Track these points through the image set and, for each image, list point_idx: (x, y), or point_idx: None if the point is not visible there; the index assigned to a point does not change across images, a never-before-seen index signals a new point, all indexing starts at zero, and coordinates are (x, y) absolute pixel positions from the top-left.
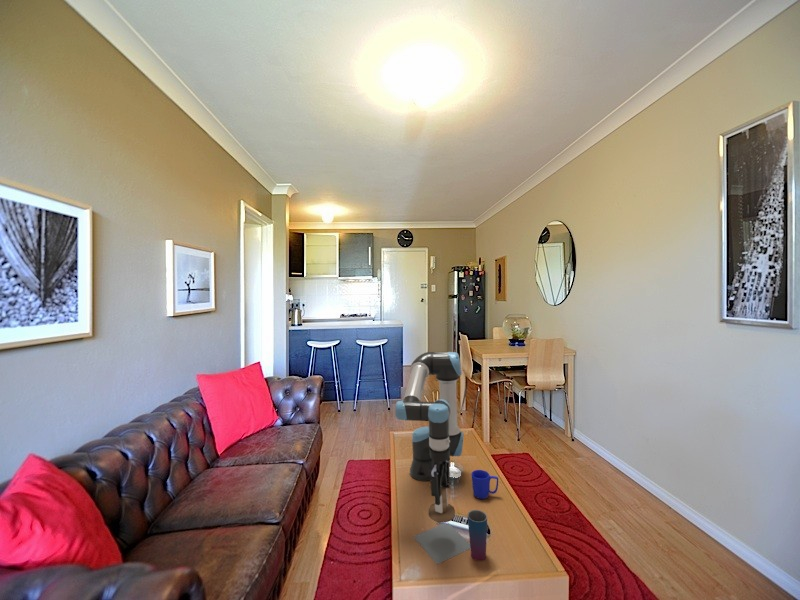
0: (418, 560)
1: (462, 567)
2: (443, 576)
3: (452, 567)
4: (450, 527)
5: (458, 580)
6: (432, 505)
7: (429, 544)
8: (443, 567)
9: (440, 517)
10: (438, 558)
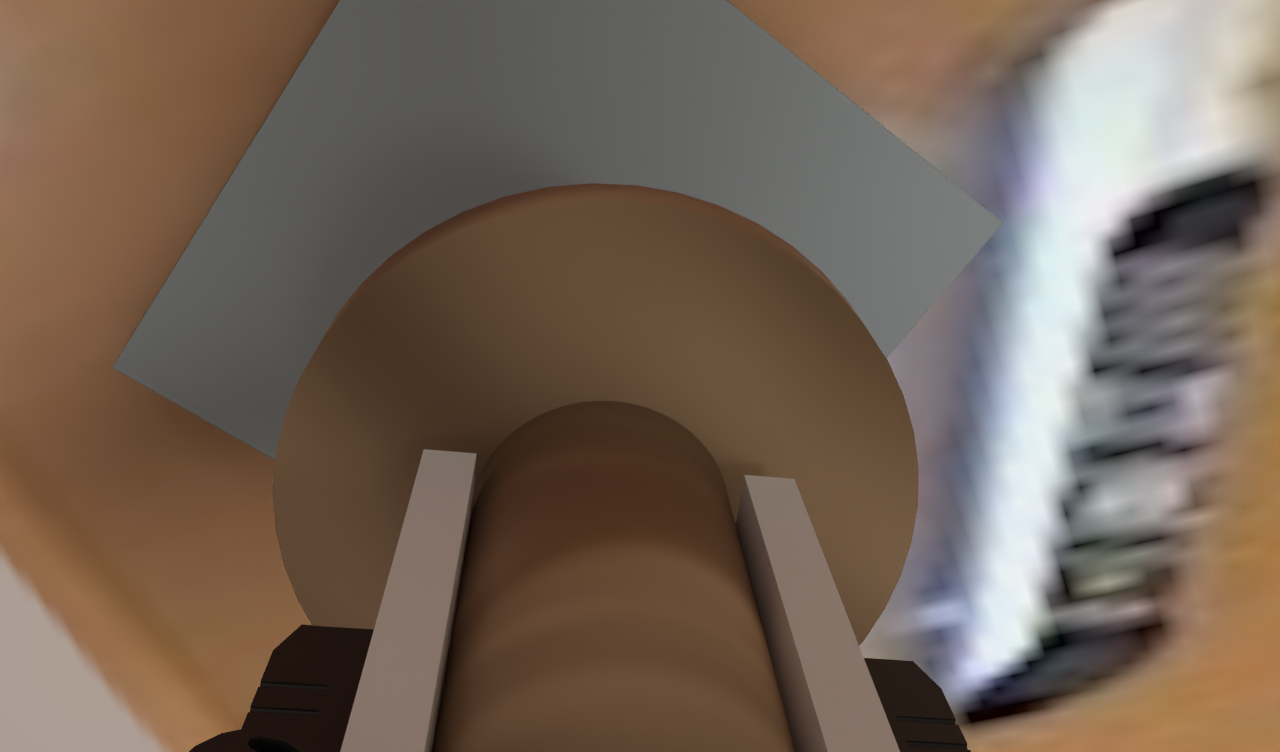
0: (93, 72)
1: (294, 608)
2: (40, 466)
3: (233, 514)
4: (895, 309)
5: (89, 622)
6: (698, 263)
7: (416, 138)
8: (172, 423)
9: (348, 572)
10: (222, 351)
